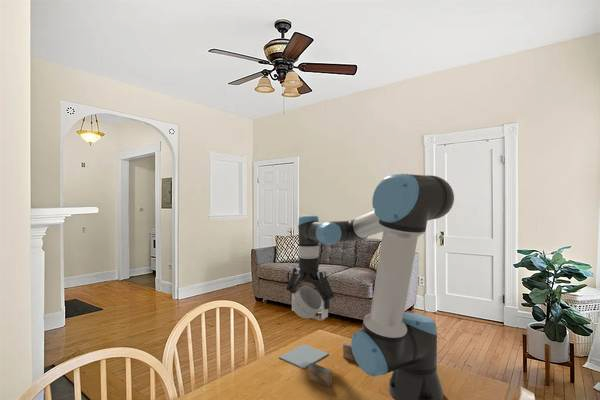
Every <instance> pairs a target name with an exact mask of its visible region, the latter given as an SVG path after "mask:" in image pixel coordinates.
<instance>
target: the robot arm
mask: <svg viewBox="0 0 600 400" xmlns="http://www.w3.org/2000/svg"><path fill="white" fill-rule="evenodd" d="M454 203H455V193H454V190H453V188H452V186H451V185H450V183H448V181H446V180H445V179H443V178H442V177H439V176H436V175H426V174H425V175H424V174H423V175H422V174H409V173H397V174H391V175H390V174H389V175H387V176H385V177H384V178H383V179H382V180H381V181H379V182H378V184H377V185H376V187H375V189H374V190H373V194H372V199H371V204H372V205H371V206H372V208H373V211H370V212H367V213H365V214H363V215H360V216H358V217H356V218H353V219H350V220H342V221H341V220H339V221H338V220H337V221H320V220H319V217H318V216H317V215H300V216H298V223H297V224H298V225H297V229H298V231H297V233H298V238H297V239H298V256H299V258H298V267H294V268H292V274H291V277H290V279H289V281H288V283H287V285H286V287H285V289H286V291H289V294H290V301H291V302H292V298H293V296H294V295H295V293H296V292H297V291H298V290H299V289H300V288H301V287H302V284H303V283H309V284H312V285H313V286H314V287H315V289H316V290H317V292H318V294H319V295H320V297H321V298H322V313H321V317H322V319H324V318H325V319H326V318H328V317H329V311H328V309H330V301H331V300H332V299H334V298H335V294H334V293H333V290H332V288H331V286H330V283H329V281H328V278H327V273H326V272H327V271H325V270H323V271H319V266H320V258H319V256H320V255H319V254H320V252H319V251H320V250H319V249H320V248H319V245H320V244H323V245H326V246H328V245H330V246H331V245H336V244H337V243H347V242H348V243H349V242H361V241H365V240H367V239H368V238H369V237H370V236H373V235H377V234H379V233H382V232H383V233H382V236H381V242H380V243H381V244H380V250H379V257H378V263H377V269H376V276H375V281H374V282H375V284H374V288H373V289H374V290H373V294H372V300H371V301H372V302H371V308H370V313H367V314H365V316H364V317H363V321H362V328H361V330H357V331H355V332H354V333H353V334H352V336H351V338H350V339H351V340H350V345H351V347H352V352H353V355H354V357H355V360H356V362H355V363H357V365H358V367H359V368H360V369H361V370H362V371H363V372H364V373H365V374H366V375H368V376H370V377H378V376H384V375H387V374H389V373H391V376H390V379H389V382H388V392H389V395H390V397H392V398H393V399H394V400H444V389H443V386H442V384H441V380H440V377H439V374H438V371H437V370H438V367H437V366H438V364H437V363H438V361H437V359H438V355H437V351H438V346H437V345H438V332H437V331H438V330H437V329H438V328H437V327H438V326H437V323H436V322H435V320H434V319H432V318H430V317H429V316H427V315H423V314H420V313H415V312H408V311H407V312H406V311H405V310H406V307H407V306H406V305H407V300H408V294H409V288H410V282H411V277H412V271H413V267H414V266H413V265H414V261H415V255H416V250H417V243H418V238H419V237H420V236H422V235H424V234H426V233H425V232H427V231H426V230H427V226H428V225H427V224H428V221H433V220H437V219H440V218H443V217H445V216H446V215H447V214H448V213H449V212H450V211H451V210H452V208H453V206H454ZM299 275H300V276H299ZM291 311H292V312H294V310H293V307H292V306H291ZM325 319H324V320H325Z"/></svg>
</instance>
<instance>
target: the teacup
mask: <svg viewBox="0 0 600 400" xmlns="http://www.w3.org/2000/svg"><path fill="white" fill-rule="evenodd" d="M322 300H323V298H322V296H321V295H320V293H319V292H318V290H317V291H316V290H315V288H313V287H312V286H309V285H301V286H300V287H299V288H298V289H297V291H296V293H295V295H294V296H293V298H292V301H291V308H292V307H293V310H294V311H293V312H294V314H296V315H297V316H299V317H300V318H303V319H311V318H312V319H315V320H317V321H324V320H325V319H326V318H324V319H322V316H318V315H317V314H319V313H321V314H322Z"/></svg>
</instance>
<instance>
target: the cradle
mask: <svg viewBox="0 0 600 400" xmlns="http://www.w3.org/2000/svg"><path fill="white" fill-rule="evenodd" d="M342 348H343V349H342V357H343V358H345V359H347V360H350V361H352V362H355V363H357V362H356V360H355V357H354V355H353V352H352V347H351V343H350V344H349V343H347V342H346V343H343V344H342ZM332 373H333V371H332V370H331V369H329V368H326V367H324V366H321V365H318V364H316V363H310V364H309V367H308V379H309V380H311V381H313V382H315V383H317V384H320V385H322V386H324V387H327V388H328V389H329V388H331V387H332V385H333V384H332V383H333V381H332V380H333V379H332Z"/></svg>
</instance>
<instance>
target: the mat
mask: <svg viewBox="0 0 600 400" xmlns="http://www.w3.org/2000/svg"><path fill="white" fill-rule="evenodd" d="M329 355H330V353H328V352H326V351H324V350H321V349H319V348H315V347H313V346H310V345H308V344H305V343H304V344H302V345H299V346H298V347H296V348H293V349H292V350H290V351H287V352H285V353H283V354H281V355H280V356H278V358H279V360H282V361H284V362H287V363H289V364H292V365H293V366H296V367H297V368H301V369H303V370H305V369H308V368H309V364H310V363H314V364H316V363H318V361H320V360H322V359H324V358H325V357H327V356H329Z"/></svg>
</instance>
